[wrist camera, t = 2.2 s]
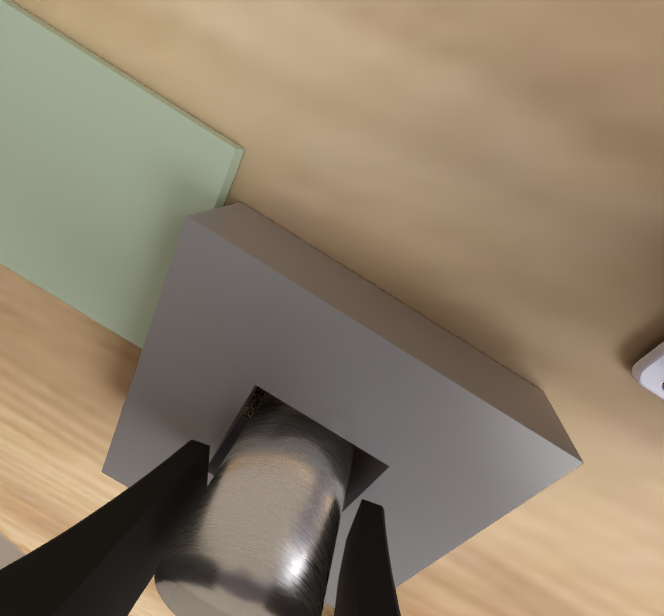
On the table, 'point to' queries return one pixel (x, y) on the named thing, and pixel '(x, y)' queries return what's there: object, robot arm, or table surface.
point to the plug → (262, 522)
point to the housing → (335, 387)
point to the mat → (96, 175)
